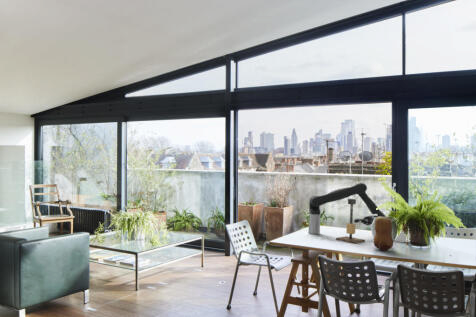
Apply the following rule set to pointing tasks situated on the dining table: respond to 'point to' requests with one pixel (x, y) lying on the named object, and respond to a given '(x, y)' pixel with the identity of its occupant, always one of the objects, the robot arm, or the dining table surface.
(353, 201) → the stand
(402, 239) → the cable organizer
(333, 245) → the dining table surface
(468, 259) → the dining table surface
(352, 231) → the sleeve
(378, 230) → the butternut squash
